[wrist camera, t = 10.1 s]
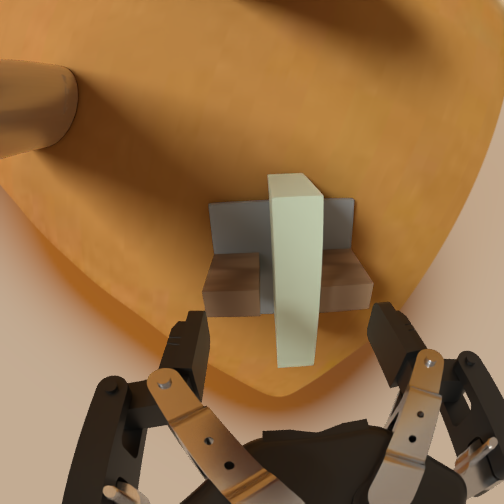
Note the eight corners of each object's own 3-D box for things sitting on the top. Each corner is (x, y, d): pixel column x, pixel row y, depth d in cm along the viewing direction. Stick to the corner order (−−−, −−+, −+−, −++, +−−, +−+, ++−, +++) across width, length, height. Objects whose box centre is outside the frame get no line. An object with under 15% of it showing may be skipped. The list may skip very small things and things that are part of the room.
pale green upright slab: (274, 310, 29) (277, 367, 22) (267, 174, 23) (271, 197, 16) (302, 308, 29) (313, 365, 21) (302, 173, 23) (323, 195, 15)
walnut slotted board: (217, 276, 27) (206, 317, 21) (214, 254, 26) (202, 291, 20) (348, 270, 27) (368, 308, 21) (350, 248, 26) (373, 283, 20)
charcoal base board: (223, 311, 30) (222, 314, 29) (209, 203, 25) (208, 204, 24) (341, 305, 29) (343, 309, 29) (352, 197, 24) (354, 199, 24)
